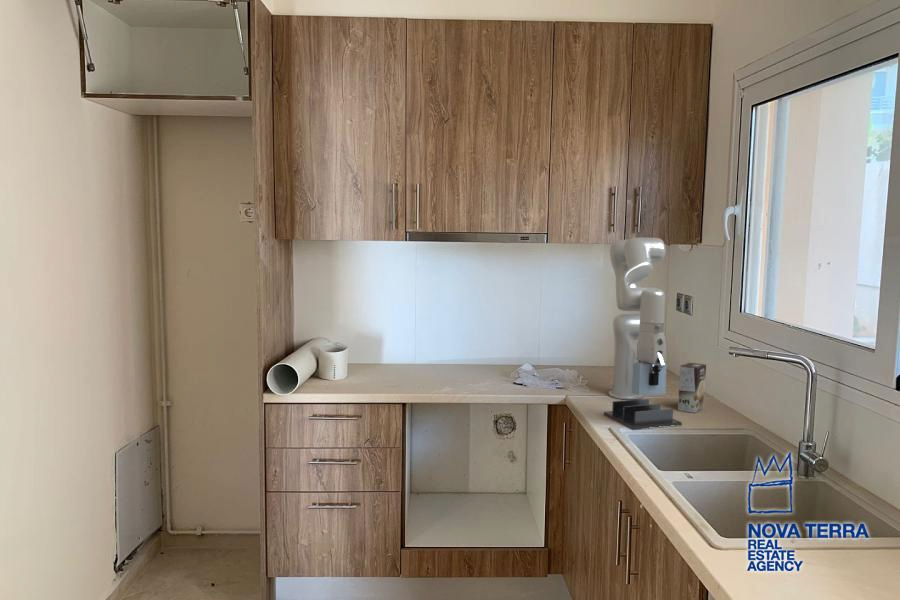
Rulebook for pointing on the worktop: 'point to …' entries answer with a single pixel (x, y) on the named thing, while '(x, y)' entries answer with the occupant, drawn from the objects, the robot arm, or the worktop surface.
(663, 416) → the dish rack
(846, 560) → the worktop surface
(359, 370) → the worktop surface
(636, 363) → the blue-grey square block
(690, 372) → the coffee box
